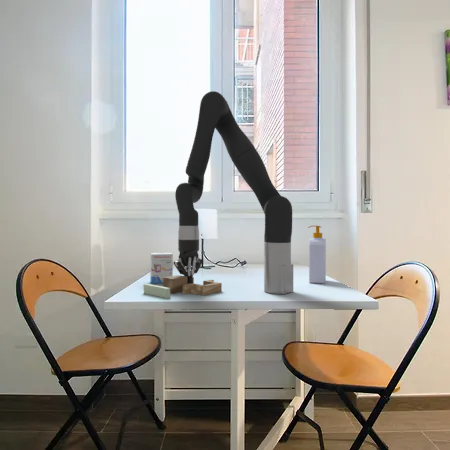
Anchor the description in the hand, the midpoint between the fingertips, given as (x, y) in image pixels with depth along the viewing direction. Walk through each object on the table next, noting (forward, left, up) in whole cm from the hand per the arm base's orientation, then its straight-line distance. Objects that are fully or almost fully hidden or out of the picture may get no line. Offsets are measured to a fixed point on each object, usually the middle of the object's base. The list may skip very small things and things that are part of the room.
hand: (188, 285), depth 128 cm
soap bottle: (-28, -45, -1) cm, 53 cm away
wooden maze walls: (-3, 0, -1) cm, 3 cm away
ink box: (+19, -3, -1) cm, 19 cm away
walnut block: (0, +6, -1) cm, 6 cm away
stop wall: (0, +15, -1) cm, 15 cm away
